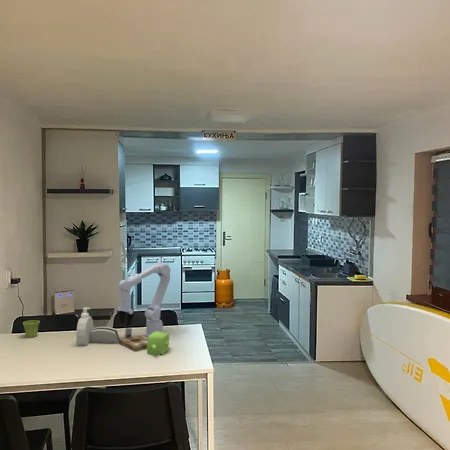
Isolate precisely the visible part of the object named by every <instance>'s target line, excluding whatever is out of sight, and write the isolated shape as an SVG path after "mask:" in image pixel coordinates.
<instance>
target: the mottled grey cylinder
mask: <svg viewBox="0 0 450 450" xmlns="http://www.w3.org/2000/svg"><path fill="white" fill-rule="evenodd" d="M132 330H133V329H132V328H131V327H130V328H125V338H130V337H133V333H132V332H133V331H132ZM125 338H124V339H125Z"/></svg>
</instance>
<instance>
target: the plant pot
mask: <svg viewBox="0 0 450 450" xmlns="http://www.w3.org/2000/svg"><path fill="white" fill-rule="evenodd" d="M40 321H41V320H26V321H23V322H22V324H23V327H24V332H25V338H35V337H37V336H38V331H39V325H40Z"/></svg>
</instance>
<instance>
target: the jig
mask: <svg viewBox="0 0 450 450" xmlns="http://www.w3.org/2000/svg"><path fill="white" fill-rule="evenodd" d="M147 340H148V337H144V336H142V335H135V336H132V337H130V338H120V340H119V342H118V344H119V345H121V346H122V347H125V348H127V349H129V350H131V351H133V352H139V350H140V351H144V350H147ZM143 349H144V350H143Z"/></svg>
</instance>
